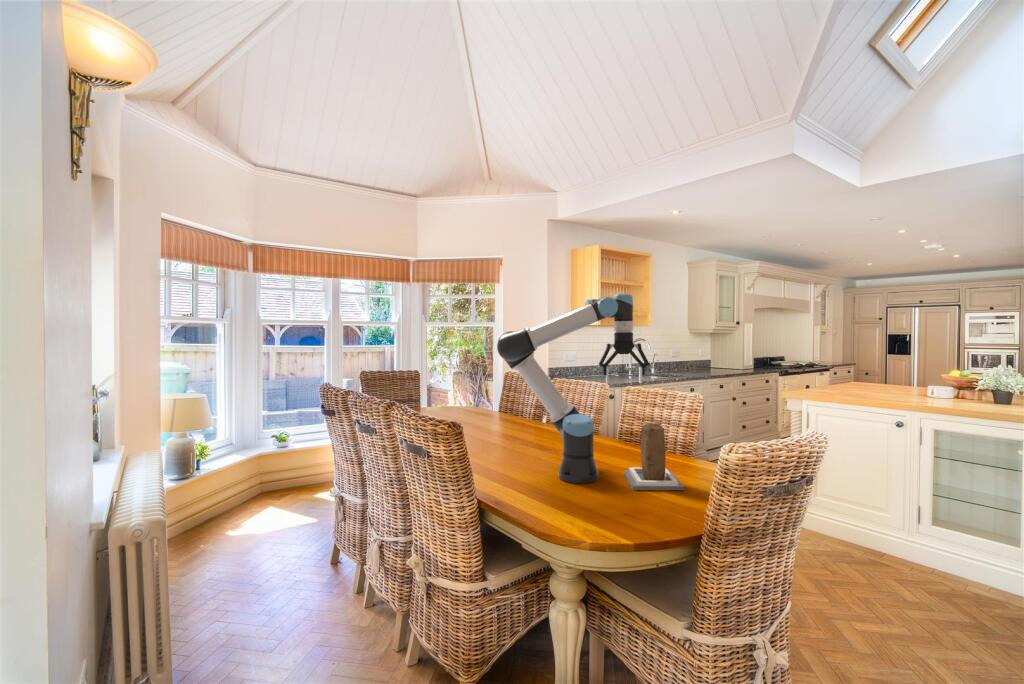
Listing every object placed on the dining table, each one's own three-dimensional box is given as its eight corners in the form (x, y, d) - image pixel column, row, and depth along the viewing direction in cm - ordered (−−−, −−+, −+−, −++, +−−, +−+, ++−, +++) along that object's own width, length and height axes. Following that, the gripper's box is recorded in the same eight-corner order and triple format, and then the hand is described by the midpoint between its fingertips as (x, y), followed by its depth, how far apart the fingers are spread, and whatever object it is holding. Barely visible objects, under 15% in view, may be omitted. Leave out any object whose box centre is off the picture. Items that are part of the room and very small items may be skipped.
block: (666, 483, 169) (666, 428, 168) (645, 483, 169) (645, 428, 169) (658, 473, 180) (658, 422, 179) (638, 473, 180) (638, 422, 180)
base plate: (632, 490, 166) (632, 482, 166) (623, 474, 184) (623, 467, 184) (684, 491, 165) (684, 482, 165) (670, 474, 183) (670, 467, 183)
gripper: (594, 332, 190) (594, 384, 191) (656, 331, 189) (656, 384, 189) (592, 332, 198) (592, 382, 198) (652, 331, 196) (652, 381, 197)
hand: (623, 383), depth 194 cm, fingers open, 13 cm apart
